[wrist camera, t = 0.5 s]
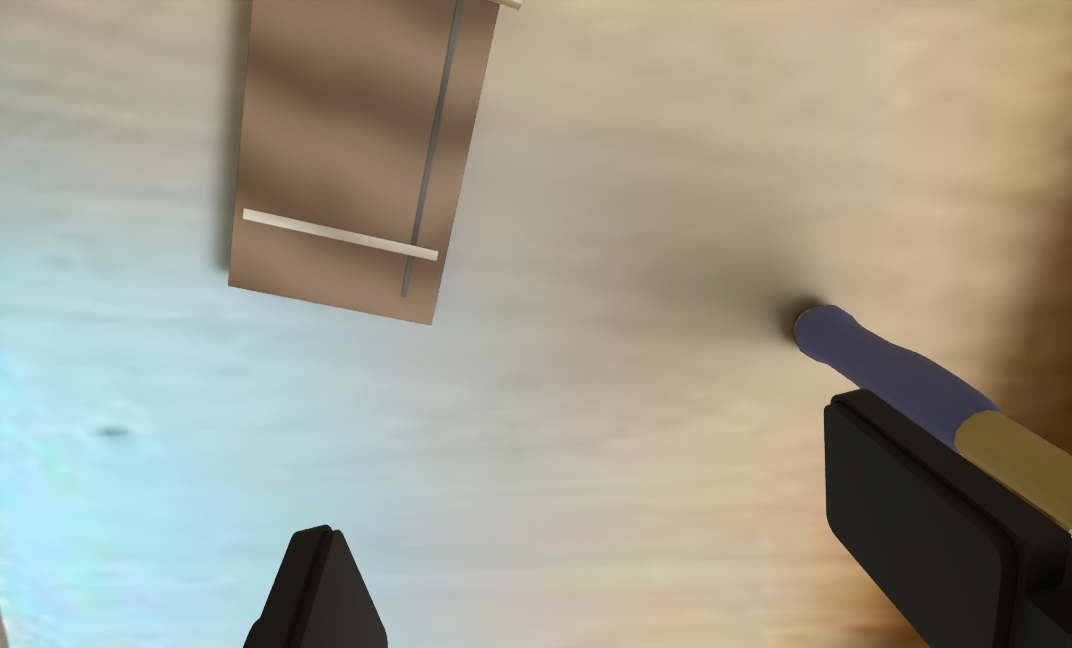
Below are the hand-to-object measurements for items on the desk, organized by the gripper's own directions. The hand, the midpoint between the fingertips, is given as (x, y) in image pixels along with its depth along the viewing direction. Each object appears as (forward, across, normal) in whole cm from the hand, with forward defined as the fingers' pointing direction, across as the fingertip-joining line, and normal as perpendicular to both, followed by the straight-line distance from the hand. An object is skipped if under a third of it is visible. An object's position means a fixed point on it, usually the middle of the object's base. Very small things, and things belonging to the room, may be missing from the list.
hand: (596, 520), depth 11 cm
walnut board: (+28, +6, -9) cm, 30 cm away
